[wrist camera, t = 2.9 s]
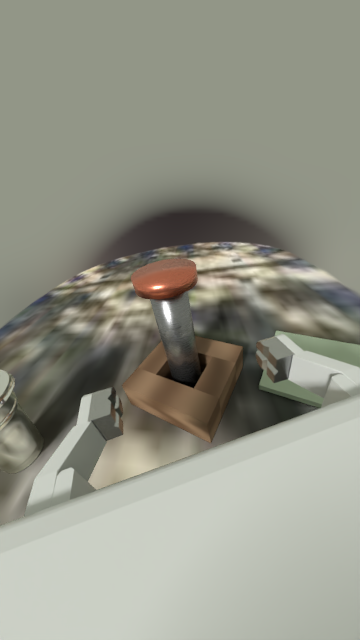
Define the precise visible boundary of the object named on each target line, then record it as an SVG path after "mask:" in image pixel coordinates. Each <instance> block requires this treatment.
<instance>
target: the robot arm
mask: <svg viewBox="0 0 360 640" xmlns="http://www.w3.org/2000/svg"><path fill="white" fill-rule="evenodd" d="M256 347H257V348H258V351H257V352H256V359H257V362H258V364H259V366H260V367H261V368H262V369H264V370H266V371H267V376H268V377H269V378H270V379H271V380H272V382H273V383H277V382H280V381H283V380H286V379H288V380H290V381H292V382H293V383H295V384H297V385H299V386H301V387H303V388H305V389H307V390H308V391H310V392H312V393H314V394H316V395H318V396H320V397H322V398H323V399H324V400H323V402H322V405H321V408H320V409H317V410H314V411H312V412H309V413H306V414H303V415H301V416H298V417H295V418H292V419H290V420H287V421H284V422H281V423H279V424H276V425H273V426H271V427H268V428H265V429H262V430H260V431H257V432H254V433H251V434H249V435H246V436H243V437H240V438H238V439H235V440H232V441H230V442H227V443H224V444H221V445H219V446H216V447H213V448H210V449H208V450H205V451H202V452H199V453H197V454H194V455H191V456H189V457H186V458H183V459H180V460H178V461H175V462H172V463H170V464H167V465H164V466H161V467H159V468H156V469H153V470H150V471H148V472H145V473H142V474H140V475H137V476H134V477H131V478H129V479H126V480H123V481H120V482H118V483H115V484H112V485H109V486H107V487H104V488H101V489H99V490H96V489H95V488H94V487H93V486H92V485H90V484H89V483H88V480H89V478H90V476H91V474H92V471H93V469H94V467H95V465H96V463H97V461H98V459H99V457H100V455H101V453H102V451H103V449H104V446H105V444H106V441H107V440H110V439H113V438H115V437H118V436H121V435H123V421H122V420H121V416H122V415H123V408H122V403H121V400H120V398H119V397H118V396H116V391H115V389H114V387H111V388H108V389H104V390H101V391H97V392H94V393H91V394H87V395H84V396H83V397H82V399H81V404H80V409H79V415H78V420H77V426H75V427H73V428H72V430H71V431H70V432H69V434H68V435H67V436H66V438H65V439H64V440H63V442H62V443H61V444H60V446H59V447H58V448H57V450H56V451H55V452H54V454H53V455H52V456H51V458H50V459H49V461H48V462H47V463H46V465H45V466H44V467H43V469H42V470H41V471H40V473H39V474H38V475H37V477H36V478H35V480H34V484H33V487H32V490H31V494H30V497H29V501H28V504H27V508H26V511H25V514H24V517H22V518H19V519H17V520H14V521H11V522H8V523H6V524H3V525H0V640H360V368H359V367H357V366H354V365H350V364H347V363H344V362H341V361H338V360H335V359H331V358H328V357H325V356H322V355H319V354H316V353H313V352H309V351H303V350H302V349H301V348H300V347H299V346H297V345H296V344H295V343H294V342H293V341H292V340H290V339H289V338H288V337H287V336H286V335H284V334H280V335H277V336H274V337H271V338H267V339H264V340H261V341H258V342H257V345H256Z"/></svg>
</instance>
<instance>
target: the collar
mask: <svg viewBox="0 0 360 640" xmlns="http://www.w3.org/2000/svg"><path fill="white" fill-rule="evenodd" d="M195 340H196V346H197V352H198V358H199V364H200V370H201V372H203V373H202V375H201V377H200V378H199V380H198V382H197V384H196V385H195V387H194V388H191V387H188V386H186V385H183V384H180V383H178V382H175V381H172V379H173V378H172V374H171V371H170V367H169V364H168V360H167V357H166V353H165V350H164V346H163V343H162V341H161V342H160V343H159V344H158V345H157V347H156V348H155V349H154V350H153V351H152V352H151V353H150V354H149V356H148V357H147V358H146V359H145V360H144V361H143V362H142V363H141V365H140V366H139V367H138V368H137V369H136V370H135V371H134V372H133V374H132V375H131V376H130V377H129V378H128V379H127V380H126V381H125V382H124V384H123V385H122V386H123V388H124V390H125V392H126V394H127V396H128V398H129V400H130V402H131V404H133V405H135V406H137V407H139V408H141V409H143V410H145V411H147V412H149V413H151V414H153V415H155V416H157V417H159V418H161V419H163V420H165V421H167V422H169V423H171V424H173V425H175V426H177V427H179V428H181V429H183V430H185V431H187V432H189V433H191V434H193V435H195V436H197V437H199V438H201V439H203V440H205V441H207V442H209V443H211V442H212V439H213V437H214V435H215V432H216V430H217V427H218V425H219V423H220V420H221V418H222V415H223V413H224V411H225V408H226V406H227V403H228V401H229V399H230V396H231V394H232V391H233V389H234V387H235V384H236V382H237V379H238V377H239V375H240V372H241V370H242V367H243V347H242V346H237V345H233V344H229V343H224V342H220V341H215V340H211V339H207V338H202V337H198V336H195Z"/></svg>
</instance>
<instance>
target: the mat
mask: <svg viewBox="0 0 360 640" xmlns="http://www.w3.org/2000/svg"><path fill="white" fill-rule="evenodd" d="M280 334H284V335H286V336H287V337H288V338H289V339H290V340H292V341H293V342H294V343H295V344H296V345H297V346H299V347H300V348H301V349H302V350H303V351H309V352H313V353H316V354H319V355H322V356H325V357H328V358H331V359H335V360H338V361H341V362H344V363H347V364H350V365H354V366H357V367H359V368H360V345H356V344H350V343H344V342H339V341H333V340H327V339H321V338H316V337H310V336H304V335H299V334H293V333H287V332H281V331H276V333H275V336H277V335H280ZM259 389H261V390H264V391H267V392H270V393H273V394H277V395H280V396H283V397H286V398H289V399H292V400H296V401H299V402H302V403H305V404H308V405H311V406H315V407H318V408H321V405H322V402H323V400H324V399H323V398H322V397H320V396H318V395H316V394H314V393H312V392H310V391H308V390H307V389H305V388H303V387H301V386H299V385H297V384H295V383H293V382H292V381H290V380H288V379H286V380H283V381H280V382H277V383H273V382H272V380H271V379H270V378H269V377H268V376H267V371H266V370H264V371H263V374H262V378H261V381H260V384H259Z"/></svg>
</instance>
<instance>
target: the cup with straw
mask: <svg viewBox="0 0 360 640" xmlns="http://www.w3.org/2000/svg"><path fill="white" fill-rule="evenodd" d="M14 385H15V380H14V377H13V376H12V375H11V374H9V373H7V372H6V371H4V370H0V471H5V472H6V473H8V474H15V473H18V472H20V471H22V470H24V469H25V468H27V467H28V466H29V465H31V464H32V463H33V462H34V461H35V459H36V458H37V457H38V456H39V454H40V452H41V450H42V448H43V445H44V439H43V437H42V436H41V435H40V433H39V431H38V430H37V428H36V427H35V425H34V424H33V423H32V421H31V420H30V418H29V417H28V416H27V414H26V413H25V411H24V410H23V409H22V407H21V406H20V404H19V403H18V399H17V398H16V396H15V393H14V391H13V389H14Z"/></svg>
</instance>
